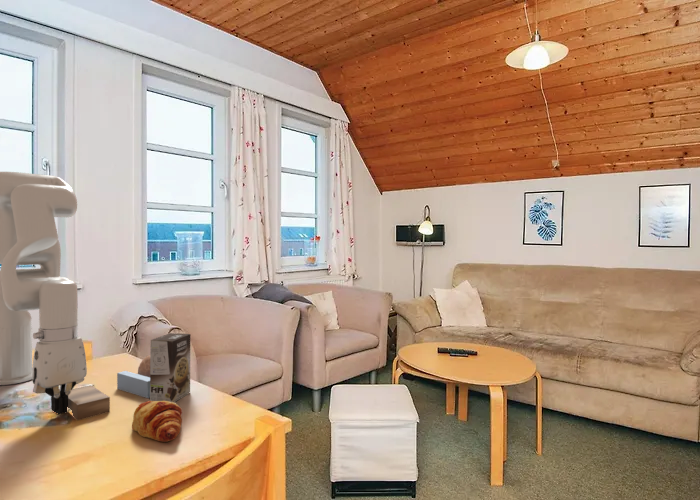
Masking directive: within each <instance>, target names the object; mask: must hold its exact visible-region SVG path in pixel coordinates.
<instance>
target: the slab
mask: <svg viewBox="0 0 700 500" xmlns="http://www.w3.org/2000/svg"><path fill="white" fill-rule="evenodd" d="M110 403H111V397H110V396H109V395H107V394H105V393H104V392H102V391H100V390H99V389H97V388H96V387H95V386H93V385H86V386H81V387H76V388H73V389H72V390H71V393H70V394H69V395H68V408H70V409H71V410H72V413H73V416H74V417H73V419H75V420H76V421H81V420H85V419H89V418H93V417H96V416H99V415H104V414H108V413H110V412H111V410H110V409H111V405H110Z"/></svg>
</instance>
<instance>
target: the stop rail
mask: <svg viewBox="0 0 700 500" xmlns="http://www.w3.org/2000/svg"><path fill="white" fill-rule="evenodd" d="M116 374H117V375H116V380H117V381H116V387H117V390H120V391H123V392H127V393H130V394H133V395H137V396H139V397H142V398H147V399H150V377H146V376H143V375H139V374H138V373H135V372H131V371H128V370H124V371H120V372H117V373H116Z"/></svg>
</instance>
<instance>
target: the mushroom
mask: <svg viewBox="0 0 700 500" xmlns="http://www.w3.org/2000/svg"><path fill="white" fill-rule="evenodd" d="M137 374H139V375H143V376H146V377H150V354H149V355H146V356H145V357H144V358H143V359H142V360H141V362H140V363H139V366H138V368H137Z"/></svg>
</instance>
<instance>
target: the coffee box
mask: <svg viewBox="0 0 700 500" xmlns="http://www.w3.org/2000/svg"><path fill="white" fill-rule="evenodd" d="M149 355H150V398H149V401H170V402H174V403H176V402H177V401H178V400H180V398H181V399H182V398H184V397H185V396H187V395H188V393H189V392H190V393H191V334H190V333H171V332H170V333H167V334H165V335H161V336H159V337H156V338H153V339H150V354H149ZM190 393H189V394H190ZM186 394H187V395H186ZM183 396H184V397H183Z"/></svg>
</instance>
